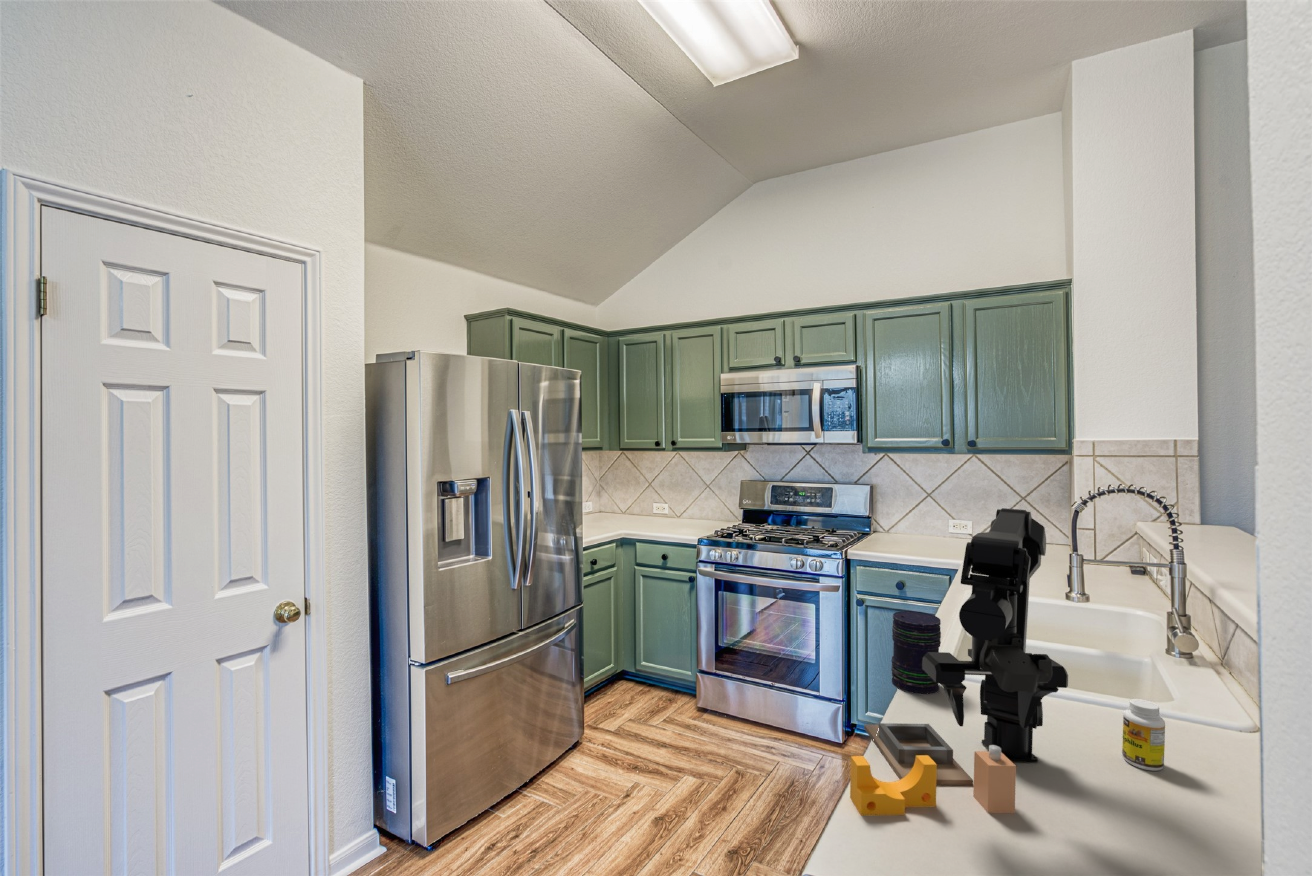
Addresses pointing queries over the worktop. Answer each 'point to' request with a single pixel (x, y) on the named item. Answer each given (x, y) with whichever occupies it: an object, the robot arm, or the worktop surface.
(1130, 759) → the supplement bottle
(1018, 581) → the robot arm
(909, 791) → the pipe clamp
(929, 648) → the storage jar
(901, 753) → the end holder
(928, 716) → the worktop surface
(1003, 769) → the connector
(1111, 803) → the worktop surface
